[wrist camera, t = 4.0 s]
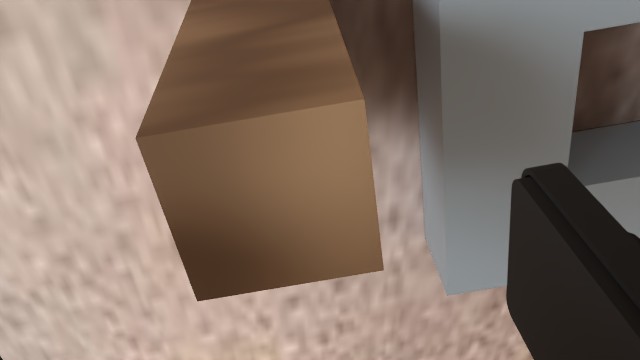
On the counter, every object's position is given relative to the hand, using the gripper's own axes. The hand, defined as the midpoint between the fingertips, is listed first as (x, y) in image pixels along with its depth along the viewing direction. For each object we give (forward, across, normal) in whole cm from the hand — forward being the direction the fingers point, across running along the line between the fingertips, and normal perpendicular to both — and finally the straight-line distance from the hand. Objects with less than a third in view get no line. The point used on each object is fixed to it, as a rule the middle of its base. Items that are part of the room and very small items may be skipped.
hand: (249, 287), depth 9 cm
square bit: (+12, -1, 0) cm, 12 cm away
